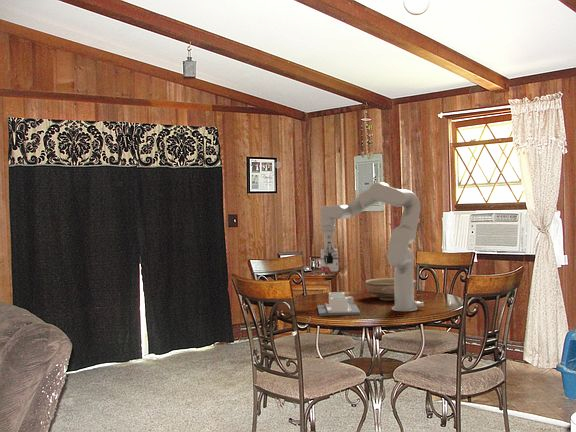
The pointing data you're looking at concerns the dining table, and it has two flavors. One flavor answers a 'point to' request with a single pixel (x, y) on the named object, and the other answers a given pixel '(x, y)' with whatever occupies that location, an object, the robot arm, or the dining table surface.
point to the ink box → (324, 265)
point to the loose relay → (350, 300)
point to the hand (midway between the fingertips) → (329, 262)
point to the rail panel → (324, 310)
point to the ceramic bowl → (382, 288)
